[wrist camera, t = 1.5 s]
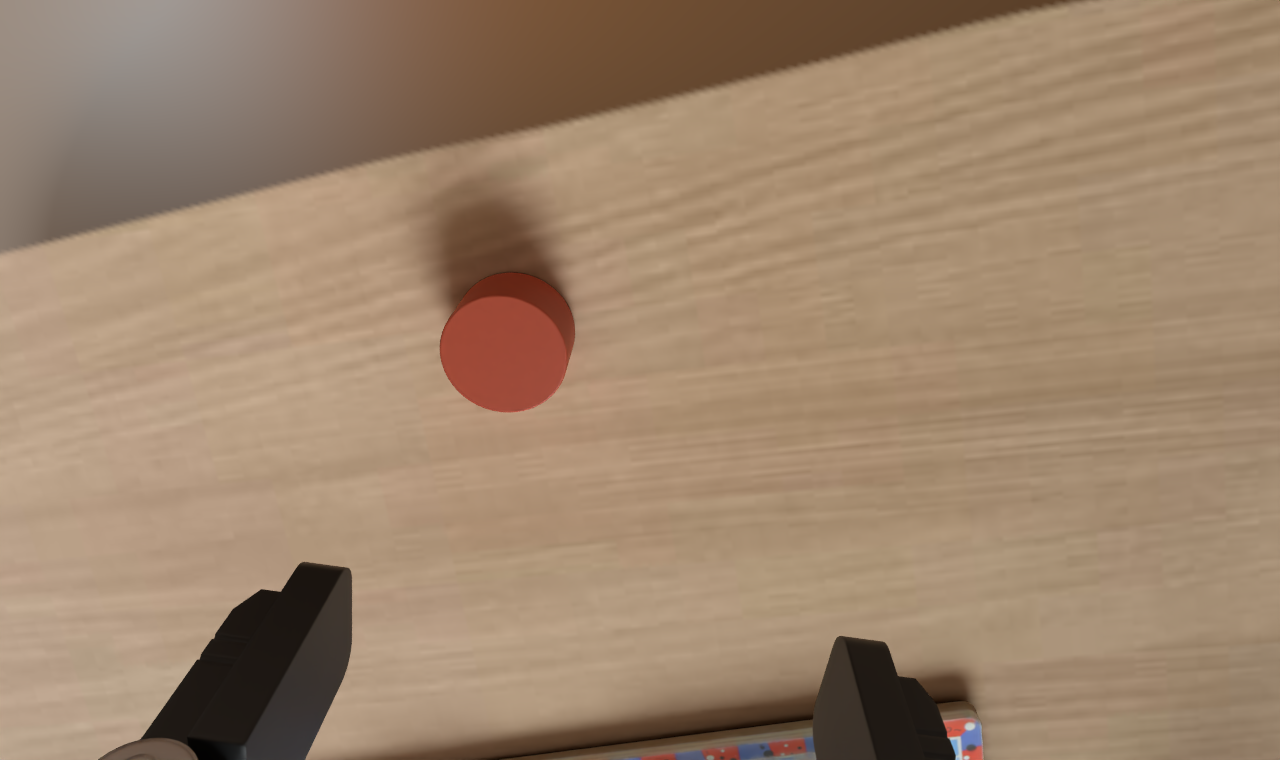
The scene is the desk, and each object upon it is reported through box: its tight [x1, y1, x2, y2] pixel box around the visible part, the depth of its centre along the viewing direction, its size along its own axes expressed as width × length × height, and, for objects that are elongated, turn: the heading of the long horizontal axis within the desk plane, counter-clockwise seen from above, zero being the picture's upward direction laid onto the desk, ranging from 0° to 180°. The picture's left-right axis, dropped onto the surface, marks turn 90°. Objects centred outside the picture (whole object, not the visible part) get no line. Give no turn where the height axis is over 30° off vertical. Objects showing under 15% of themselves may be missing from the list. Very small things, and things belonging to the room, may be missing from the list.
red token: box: [440, 272, 575, 412], centre depth 29 cm, size 4×4×2 cm
